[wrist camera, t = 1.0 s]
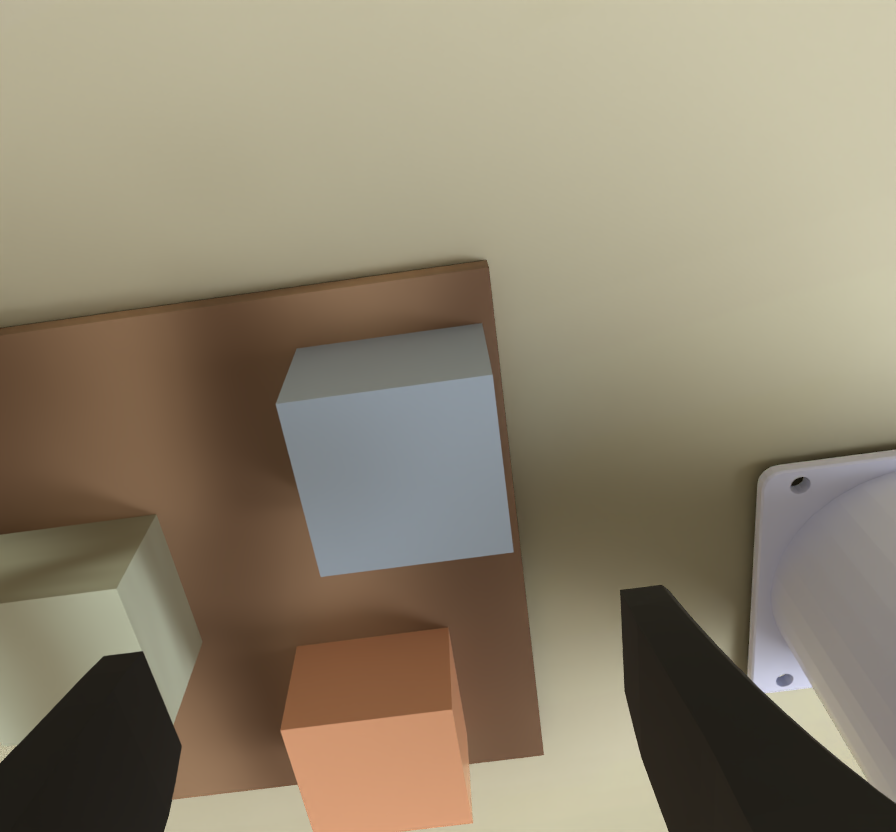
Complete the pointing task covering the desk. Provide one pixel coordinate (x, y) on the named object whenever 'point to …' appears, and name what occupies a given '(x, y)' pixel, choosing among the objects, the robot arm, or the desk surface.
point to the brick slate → (397, 450)
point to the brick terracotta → (379, 734)
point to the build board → (223, 523)
